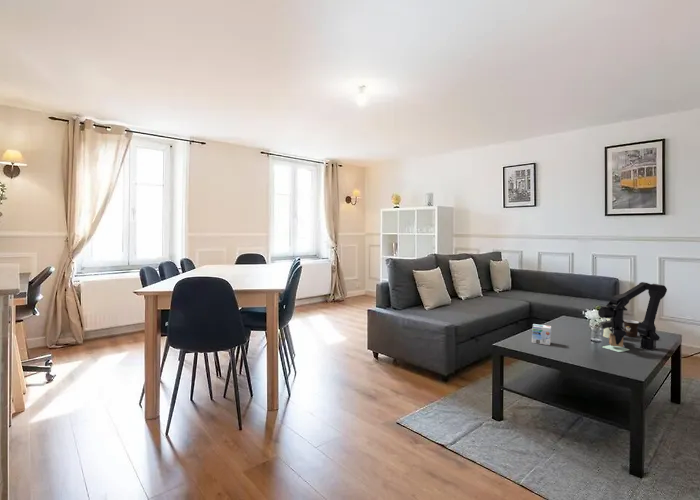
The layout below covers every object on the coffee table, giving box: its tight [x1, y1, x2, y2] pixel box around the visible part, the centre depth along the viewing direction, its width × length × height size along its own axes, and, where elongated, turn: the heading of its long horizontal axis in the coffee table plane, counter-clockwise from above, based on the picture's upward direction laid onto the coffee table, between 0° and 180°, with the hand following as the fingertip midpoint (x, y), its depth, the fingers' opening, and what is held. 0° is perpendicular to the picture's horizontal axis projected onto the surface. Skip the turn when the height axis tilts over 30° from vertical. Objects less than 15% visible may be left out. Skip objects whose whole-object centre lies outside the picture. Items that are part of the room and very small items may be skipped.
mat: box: [602, 344, 630, 353], centre depth 231 cm, size 10×10×1 cm
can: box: [602, 318, 612, 339], centre depth 255 cm, size 9×9×12 cm
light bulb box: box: [531, 323, 552, 346], centre depth 242 cm, size 11×7×11 cm, turn 62°
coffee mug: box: [623, 319, 640, 339], centre depth 259 cm, size 12×9×10 cm
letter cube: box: [608, 333, 625, 347], centre depth 231 cm, size 6×6×6 cm
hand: (616, 342), depth 231 cm, fingers closed on letter cube, 6 cm apart
